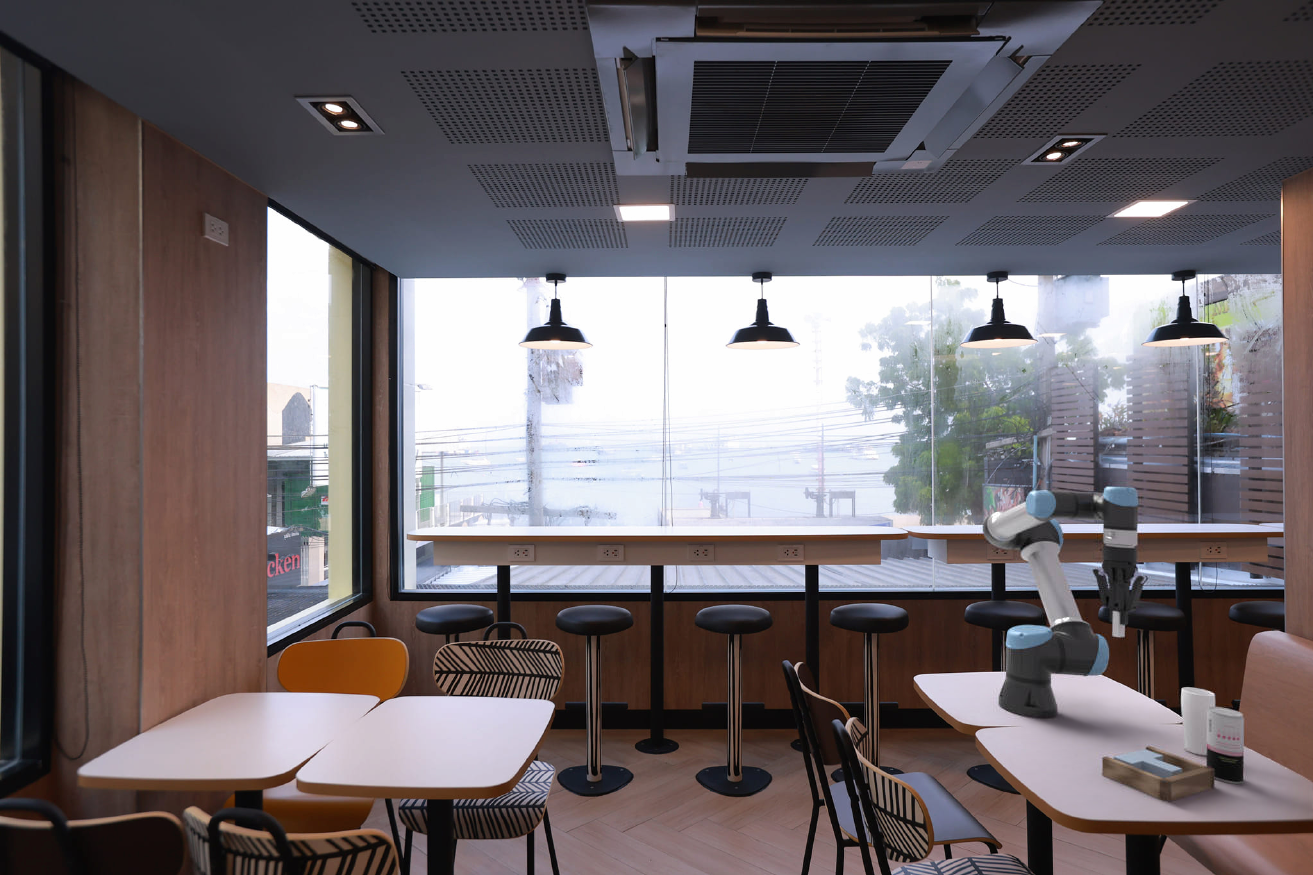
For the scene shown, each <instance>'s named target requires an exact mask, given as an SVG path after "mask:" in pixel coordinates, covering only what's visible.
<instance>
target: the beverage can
mask: <svg viewBox="0 0 1313 875" xmlns="http://www.w3.org/2000/svg"><path fill="white" fill-rule="evenodd" d="M1244 741H1245V717H1244V714H1243V713H1242V712H1239V711H1238V710H1234V709H1231V708H1226V707H1221V706H1215V707H1209V708H1208V711H1207V755H1206V766H1207V767H1210V768H1212V769H1215V775H1214V780H1218V781H1221V782H1223V783H1224V782H1225V783H1228V784H1240V783H1242V782H1244V769H1245V768H1244V767H1245V766H1244V764H1245V763H1244V759H1245V758H1244V754H1245V753H1244V750H1245V746H1244V745H1245V744H1244Z"/></svg>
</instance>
